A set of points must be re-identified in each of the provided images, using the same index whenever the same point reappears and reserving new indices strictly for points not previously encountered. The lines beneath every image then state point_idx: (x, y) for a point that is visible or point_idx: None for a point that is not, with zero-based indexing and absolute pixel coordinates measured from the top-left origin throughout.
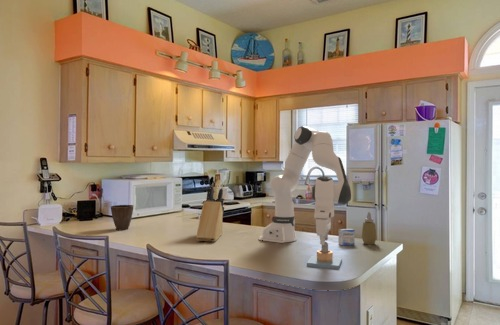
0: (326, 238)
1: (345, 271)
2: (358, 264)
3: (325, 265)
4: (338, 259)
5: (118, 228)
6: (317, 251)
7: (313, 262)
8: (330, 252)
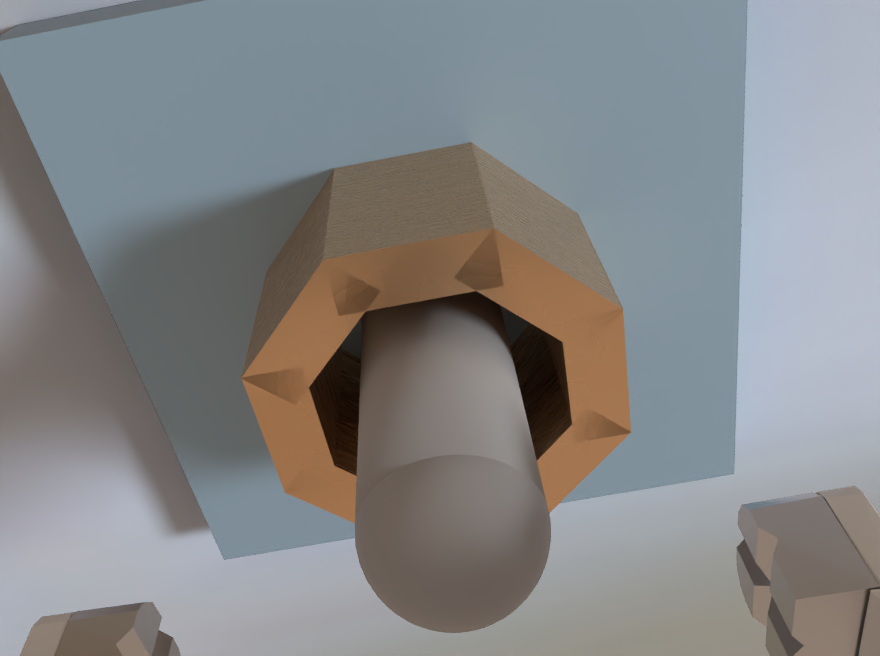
0: (772, 615)
1: (192, 599)
2: (619, 625)
3: (154, 385)
4: (605, 461)
5: None
6: (353, 265)
7: (126, 165)
8: None
